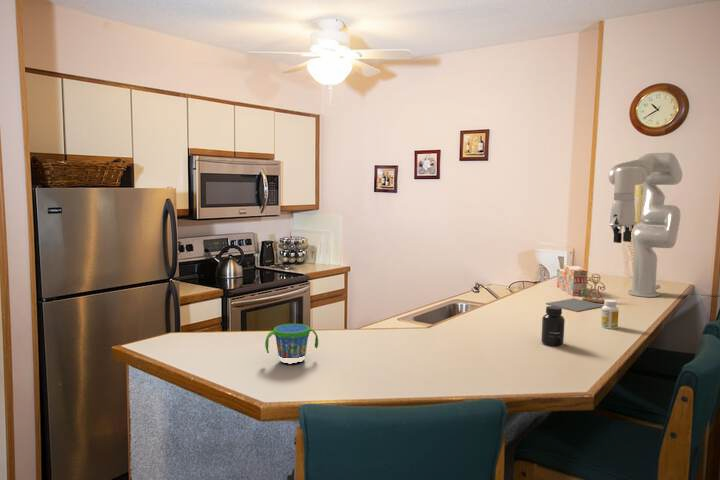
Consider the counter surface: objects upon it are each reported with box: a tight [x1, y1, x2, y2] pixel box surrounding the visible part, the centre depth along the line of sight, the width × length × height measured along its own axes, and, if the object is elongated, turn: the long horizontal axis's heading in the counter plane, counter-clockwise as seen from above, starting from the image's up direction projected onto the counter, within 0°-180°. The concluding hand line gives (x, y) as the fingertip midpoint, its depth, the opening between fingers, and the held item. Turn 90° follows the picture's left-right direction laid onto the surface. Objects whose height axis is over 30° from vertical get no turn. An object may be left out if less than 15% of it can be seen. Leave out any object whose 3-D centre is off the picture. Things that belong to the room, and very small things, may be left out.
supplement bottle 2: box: [600, 299, 620, 330], centre depth 192 cm, size 5×5×10 cm
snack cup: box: [264, 323, 319, 358], centre depth 158 cm, size 16×10×10 cm
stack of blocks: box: [556, 265, 588, 297], centre depth 254 cm, size 21×6×12 cm, turn 179°
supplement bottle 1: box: [540, 305, 566, 347], centre depth 173 cm, size 7×7×12 cm
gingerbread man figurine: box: [581, 273, 606, 304], centre depth 232 cm, size 9×4×12 cm, turn 49°
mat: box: [545, 298, 605, 313], centre depth 227 cm, size 18×16×1 cm
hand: (622, 241), depth 219 cm, fingers open, 5 cm apart
